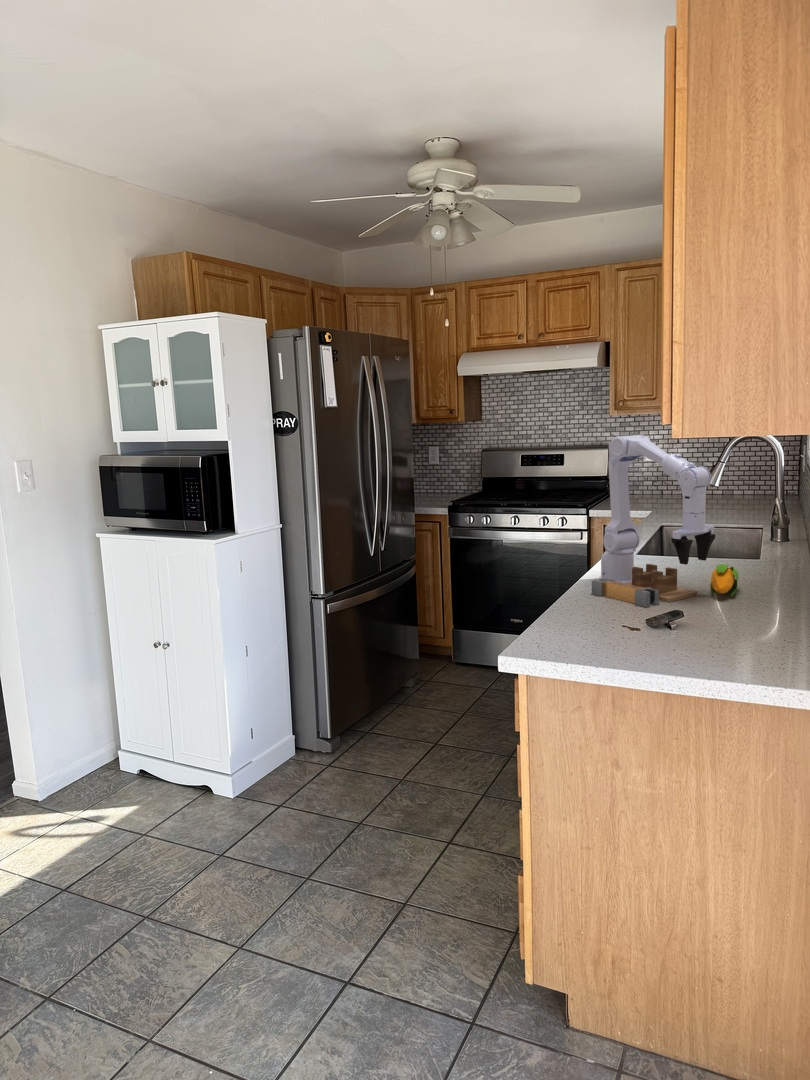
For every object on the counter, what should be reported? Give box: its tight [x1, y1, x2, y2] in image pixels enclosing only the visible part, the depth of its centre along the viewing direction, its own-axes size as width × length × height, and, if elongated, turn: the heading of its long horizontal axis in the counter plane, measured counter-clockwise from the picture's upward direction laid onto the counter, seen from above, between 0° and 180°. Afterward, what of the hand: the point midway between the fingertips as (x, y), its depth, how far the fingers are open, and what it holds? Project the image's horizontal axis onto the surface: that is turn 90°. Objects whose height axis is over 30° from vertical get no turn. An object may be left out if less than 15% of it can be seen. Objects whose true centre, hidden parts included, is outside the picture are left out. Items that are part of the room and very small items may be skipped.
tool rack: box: [625, 563, 699, 603], centre depth 216 cm, size 20×12×7 cm, turn 31°
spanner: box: [591, 577, 660, 608], centre depth 210 cm, size 20×5×4 cm, turn 31°
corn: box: [709, 563, 740, 597], centre depth 211 cm, size 7×8×20 cm
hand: (692, 561), depth 207 cm, fingers open, 7 cm apart
